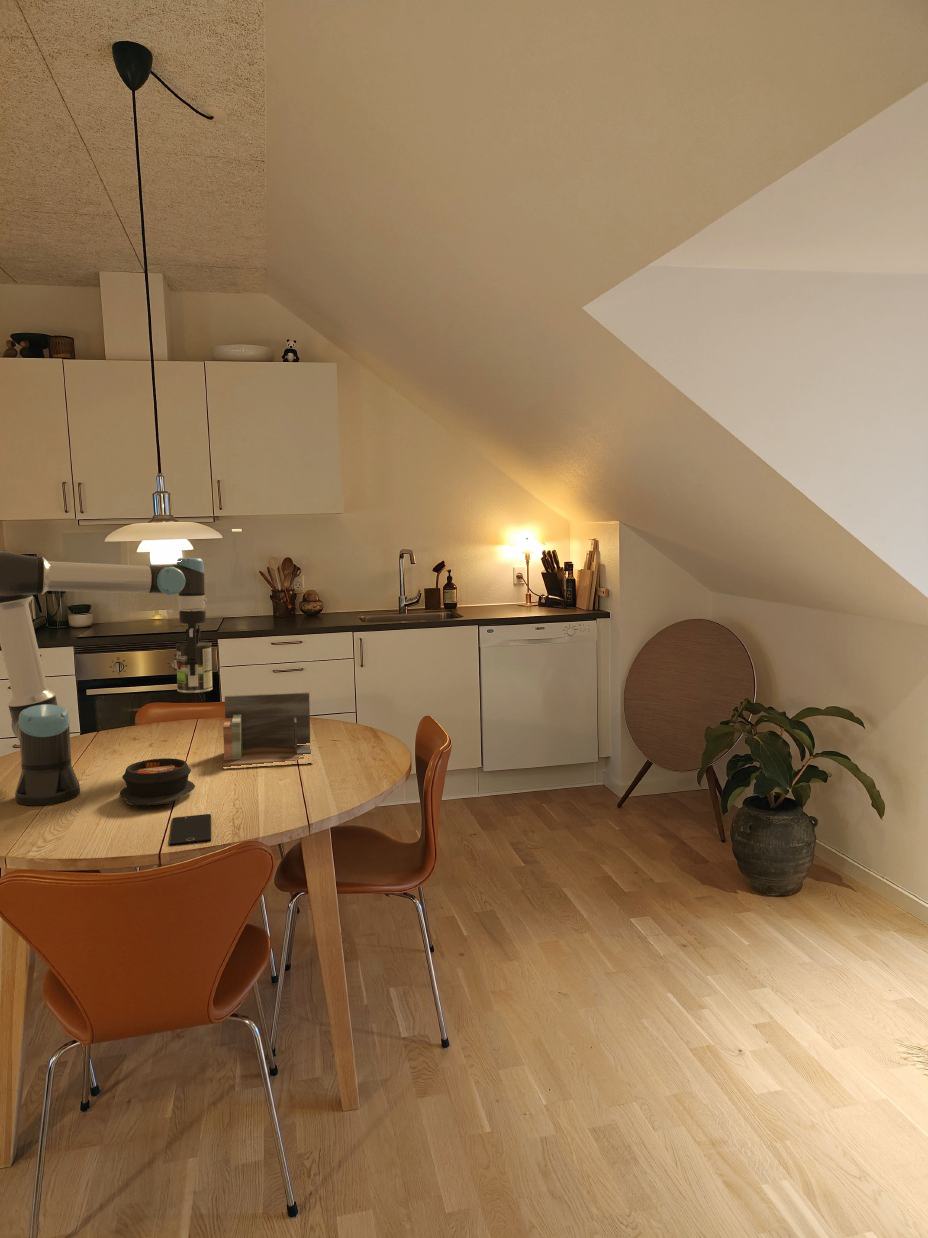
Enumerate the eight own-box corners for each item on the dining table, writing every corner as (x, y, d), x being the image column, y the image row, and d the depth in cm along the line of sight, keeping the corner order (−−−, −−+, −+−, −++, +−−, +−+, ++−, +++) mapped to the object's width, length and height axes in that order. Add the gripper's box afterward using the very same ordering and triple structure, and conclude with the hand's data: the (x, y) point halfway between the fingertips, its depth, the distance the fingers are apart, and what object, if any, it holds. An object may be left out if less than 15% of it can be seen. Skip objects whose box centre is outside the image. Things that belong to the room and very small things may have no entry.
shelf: (312, 764, 247) (311, 704, 245) (222, 769, 241) (220, 709, 239) (310, 747, 266) (309, 692, 264) (226, 752, 261) (224, 695, 259)
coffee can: (188, 694, 242) (186, 646, 240) (170, 690, 248) (169, 643, 247) (219, 689, 249) (218, 643, 248) (201, 685, 256) (200, 640, 255)
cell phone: (169, 848, 182) (169, 843, 182) (172, 821, 199) (172, 817, 199) (211, 843, 185) (211, 839, 184) (211, 817, 202) (210, 813, 202)
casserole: (128, 785, 227) (126, 755, 226) (198, 780, 231) (197, 751, 230) (111, 815, 202) (109, 781, 201) (190, 809, 207) (189, 776, 206)
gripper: (202, 612, 236) (205, 689, 238) (208, 606, 258) (210, 676, 260) (174, 613, 234) (177, 690, 237) (183, 606, 256) (185, 677, 259)
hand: (195, 683), depth 249 cm, fingers closed on coffee can, 10 cm apart
